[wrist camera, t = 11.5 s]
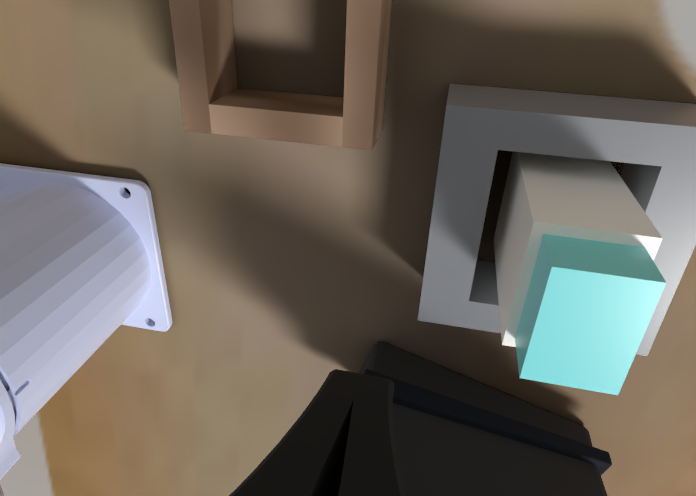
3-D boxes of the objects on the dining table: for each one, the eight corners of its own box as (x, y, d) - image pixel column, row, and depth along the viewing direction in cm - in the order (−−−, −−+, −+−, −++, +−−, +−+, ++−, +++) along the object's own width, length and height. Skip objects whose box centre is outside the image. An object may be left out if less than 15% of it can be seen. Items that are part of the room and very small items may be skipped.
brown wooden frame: (215, 112, 20) (184, 130, 18) (193, -129, 16) (150, -143, 14) (382, 128, 19) (371, 150, 17) (401, -125, 15) (390, -139, 13)
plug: (493, 240, 20) (505, 384, 13) (514, 142, 18) (541, 253, 11) (572, 251, 20) (626, 406, 13) (603, 151, 18) (686, 273, 11)
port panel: (423, 277, 22) (417, 320, 19) (449, 83, 18) (446, 104, 15) (624, 306, 20) (647, 356, 18) (701, 104, 16) (744, 131, 14)
